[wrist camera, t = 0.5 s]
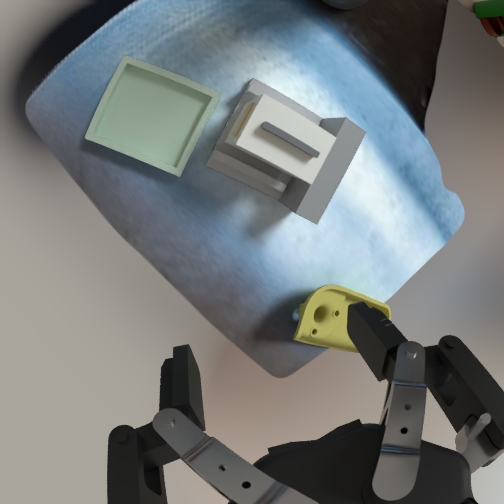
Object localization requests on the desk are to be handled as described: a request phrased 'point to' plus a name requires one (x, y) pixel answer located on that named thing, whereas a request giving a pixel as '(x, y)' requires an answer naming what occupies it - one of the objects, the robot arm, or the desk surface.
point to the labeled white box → (281, 138)
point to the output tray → (152, 115)
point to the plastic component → (331, 317)
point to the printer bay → (277, 182)
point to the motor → (491, 16)
